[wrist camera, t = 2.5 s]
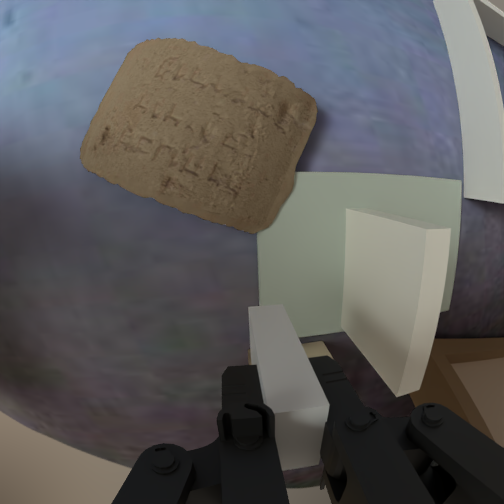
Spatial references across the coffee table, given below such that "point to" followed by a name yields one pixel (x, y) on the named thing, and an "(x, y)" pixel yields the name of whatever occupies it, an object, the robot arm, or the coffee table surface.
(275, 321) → the robot arm
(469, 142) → the white open rectangular frame
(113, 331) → the coffee table surface
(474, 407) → the photo frame
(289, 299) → the mat
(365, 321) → the tile
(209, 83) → the clay tablet
